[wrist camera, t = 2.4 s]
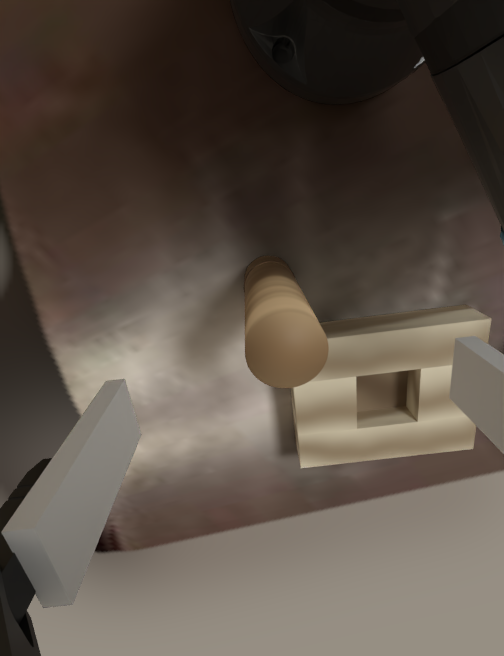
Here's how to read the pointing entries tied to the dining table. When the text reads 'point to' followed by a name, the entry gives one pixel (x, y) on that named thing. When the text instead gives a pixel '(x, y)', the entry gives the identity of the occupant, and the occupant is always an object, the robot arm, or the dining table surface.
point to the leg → (280, 327)
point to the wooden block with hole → (386, 388)
